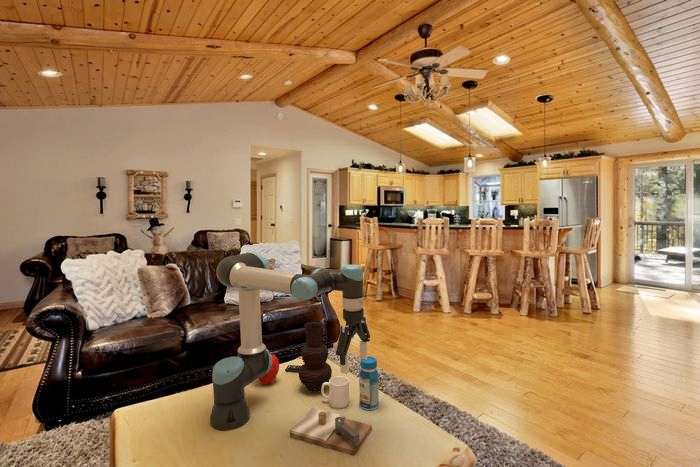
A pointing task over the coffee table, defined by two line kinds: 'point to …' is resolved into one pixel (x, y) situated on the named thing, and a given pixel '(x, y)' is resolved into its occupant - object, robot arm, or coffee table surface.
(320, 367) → the vase
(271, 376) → the apple
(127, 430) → the coffee table surface
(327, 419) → the door board
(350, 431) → the bar
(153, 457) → the coffee table surface
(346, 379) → the cup
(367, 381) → the beverage bottle
